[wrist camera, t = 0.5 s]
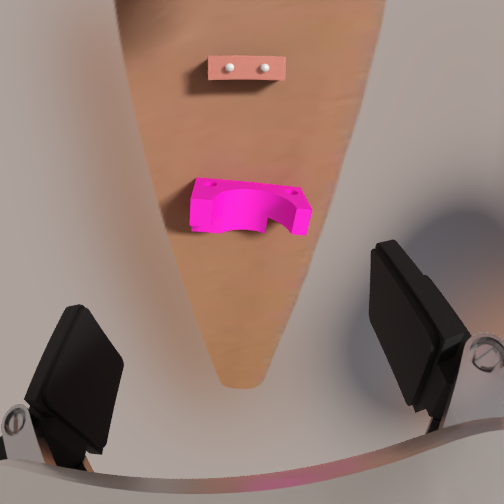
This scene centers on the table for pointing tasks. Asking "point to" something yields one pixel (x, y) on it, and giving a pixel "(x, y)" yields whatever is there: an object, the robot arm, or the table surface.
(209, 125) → the table surface
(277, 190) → the magenta curved block
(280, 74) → the block
